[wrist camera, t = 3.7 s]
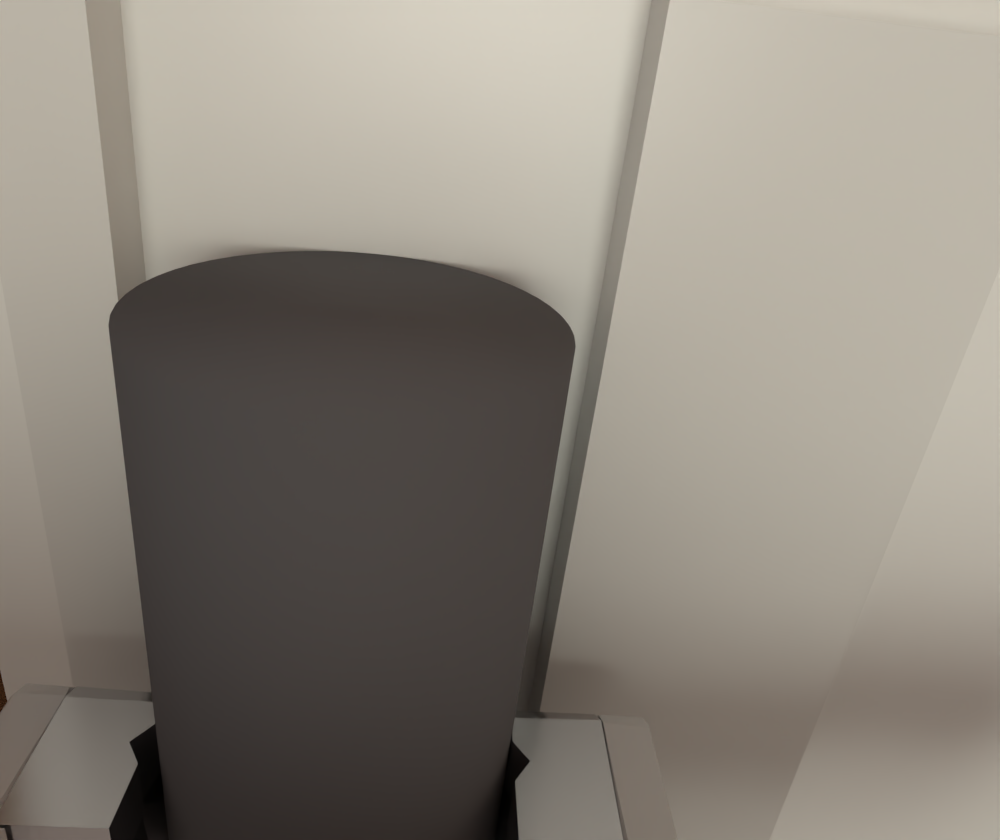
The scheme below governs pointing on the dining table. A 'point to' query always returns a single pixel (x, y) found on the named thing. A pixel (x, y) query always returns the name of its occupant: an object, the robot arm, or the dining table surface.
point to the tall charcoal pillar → (336, 536)
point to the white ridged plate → (581, 344)
